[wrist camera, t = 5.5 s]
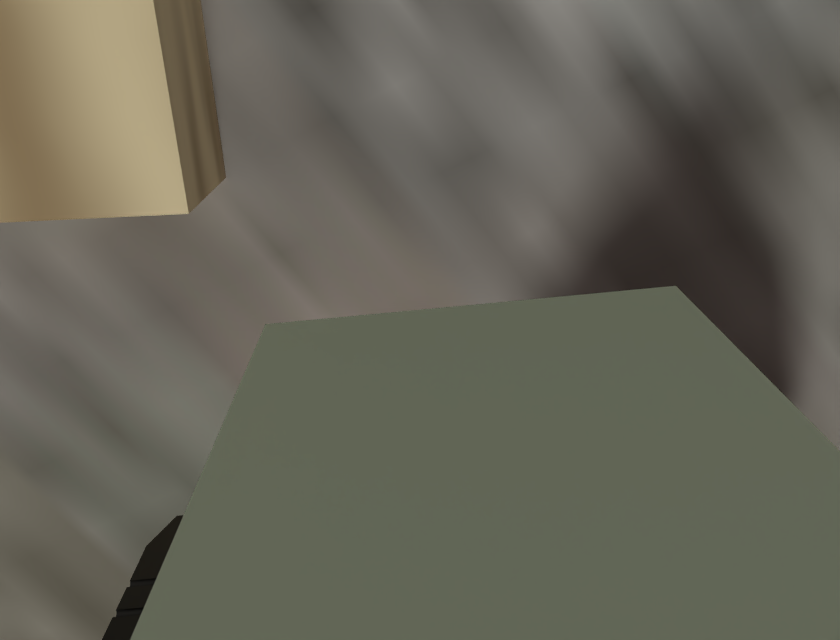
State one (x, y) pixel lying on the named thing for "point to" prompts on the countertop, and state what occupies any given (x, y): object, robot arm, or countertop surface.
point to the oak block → (105, 109)
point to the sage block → (508, 484)
